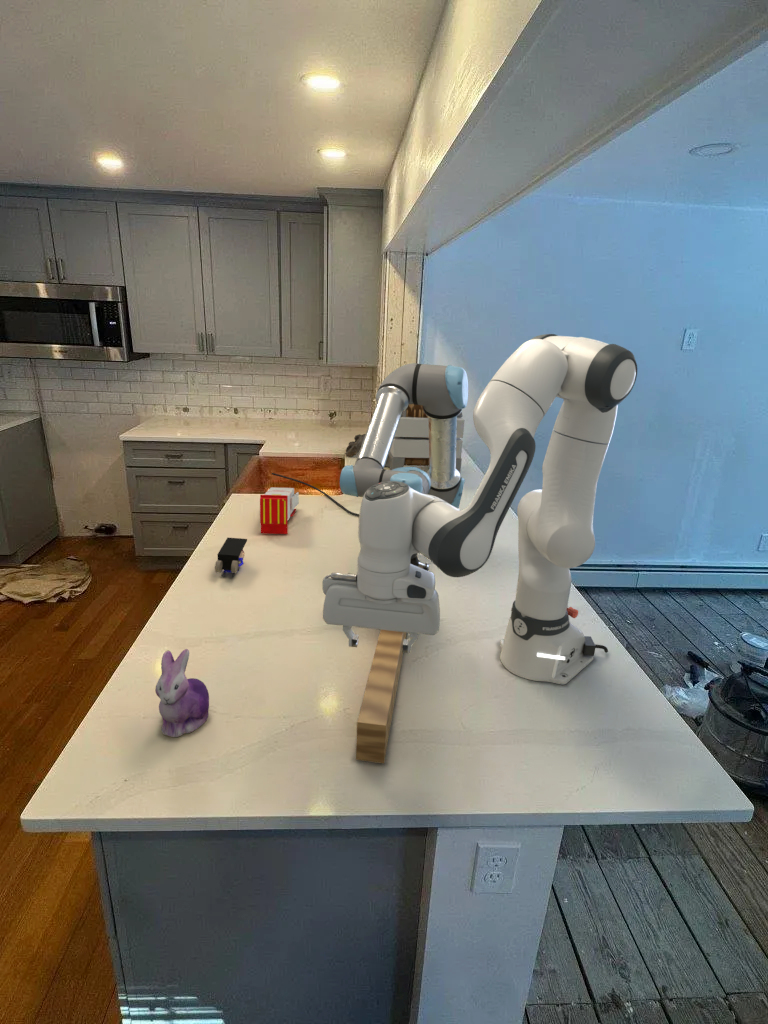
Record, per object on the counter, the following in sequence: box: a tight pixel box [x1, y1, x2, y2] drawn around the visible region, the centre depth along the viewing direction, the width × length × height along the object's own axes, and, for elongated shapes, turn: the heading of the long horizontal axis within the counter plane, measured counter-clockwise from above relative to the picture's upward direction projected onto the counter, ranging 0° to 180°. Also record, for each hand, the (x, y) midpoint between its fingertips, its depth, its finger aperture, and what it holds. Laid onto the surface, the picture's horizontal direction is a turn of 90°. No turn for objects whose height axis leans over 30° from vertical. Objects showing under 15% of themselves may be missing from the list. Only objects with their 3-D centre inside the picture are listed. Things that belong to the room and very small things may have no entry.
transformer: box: [385, 404, 465, 475], centre depth 268 cm, size 34×33×41 cm
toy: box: [259, 487, 300, 535], centre depth 206 cm, size 12×13×30 cm
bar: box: [355, 630, 408, 764], centre depth 122 cm, size 53×5×8 cm, turn 173°
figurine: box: [154, 648, 210, 738], centre depth 104 cm, size 9×10×15 cm
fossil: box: [345, 433, 366, 458], centre depth 306 cm, size 22×10×15 cm
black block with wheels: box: [214, 537, 248, 578], centre depth 166 cm, size 7×8×15 cm
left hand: (397, 625), depth 141 cm, fingers closed on bar, 5 cm apart
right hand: (379, 648), depth 100 cm, fingers open, 8 cm apart
